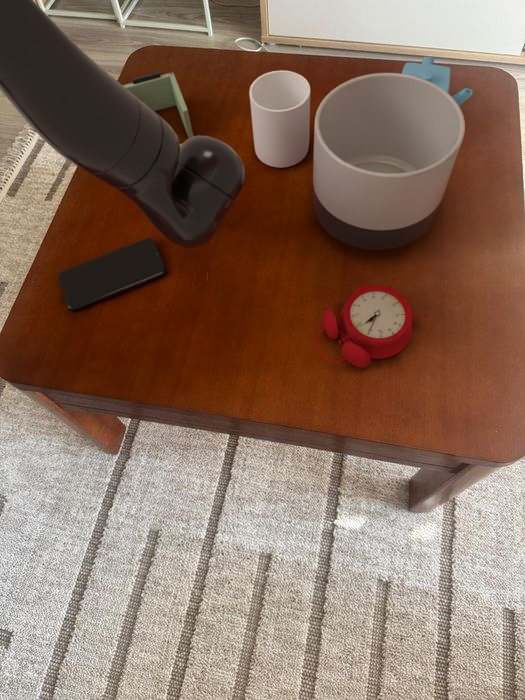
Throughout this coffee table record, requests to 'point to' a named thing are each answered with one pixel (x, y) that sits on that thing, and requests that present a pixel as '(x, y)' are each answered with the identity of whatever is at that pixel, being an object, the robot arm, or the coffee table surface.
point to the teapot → (435, 77)
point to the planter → (383, 158)
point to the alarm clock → (370, 325)
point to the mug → (280, 117)
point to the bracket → (161, 94)
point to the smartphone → (111, 274)
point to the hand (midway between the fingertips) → (187, 193)
